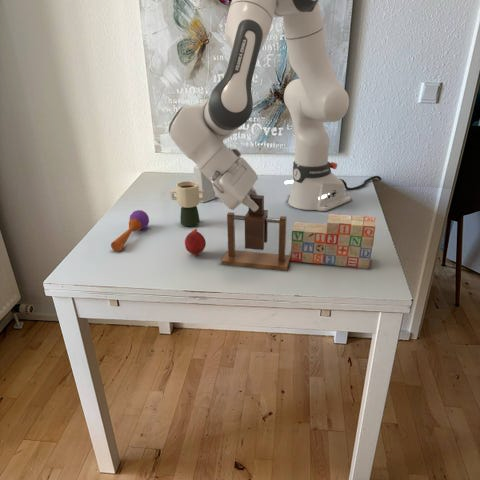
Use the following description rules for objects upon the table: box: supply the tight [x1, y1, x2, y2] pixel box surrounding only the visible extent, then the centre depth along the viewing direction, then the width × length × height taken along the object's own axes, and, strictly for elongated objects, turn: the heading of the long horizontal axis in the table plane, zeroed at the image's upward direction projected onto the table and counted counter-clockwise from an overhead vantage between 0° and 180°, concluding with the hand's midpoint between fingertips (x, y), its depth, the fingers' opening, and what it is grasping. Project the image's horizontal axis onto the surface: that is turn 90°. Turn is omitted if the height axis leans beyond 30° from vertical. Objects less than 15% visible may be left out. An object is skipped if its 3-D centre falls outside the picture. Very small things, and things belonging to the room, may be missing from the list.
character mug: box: [170, 180, 205, 227], centre depth 154 cm, size 11×7×13 cm, turn 84°
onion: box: [184, 228, 207, 256], centre depth 136 cm, size 6×6×8 cm
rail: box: [221, 211, 291, 272], centre depth 131 cm, size 18×7×14 cm, turn 76°
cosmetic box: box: [193, 165, 216, 204], centre depth 173 cm, size 6×4×12 cm
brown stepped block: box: [244, 194, 269, 251], centre depth 128 cm, size 6×5×14 cm
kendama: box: [110, 209, 150, 253], centre depth 148 cm, size 6×6×20 cm
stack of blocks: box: [290, 213, 377, 270], centre depth 131 cm, size 21×6×12 cm, turn 77°
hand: (258, 206), depth 126 cm, fingers closed on brown stepped block, 2 cm apart
